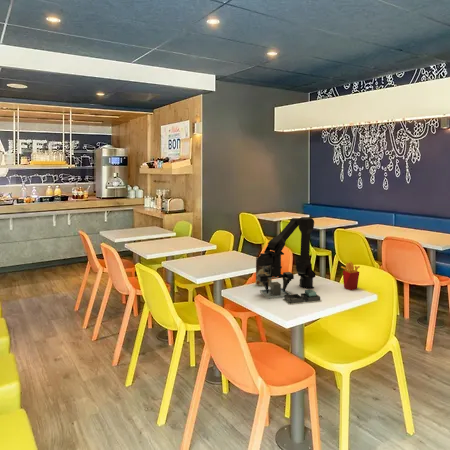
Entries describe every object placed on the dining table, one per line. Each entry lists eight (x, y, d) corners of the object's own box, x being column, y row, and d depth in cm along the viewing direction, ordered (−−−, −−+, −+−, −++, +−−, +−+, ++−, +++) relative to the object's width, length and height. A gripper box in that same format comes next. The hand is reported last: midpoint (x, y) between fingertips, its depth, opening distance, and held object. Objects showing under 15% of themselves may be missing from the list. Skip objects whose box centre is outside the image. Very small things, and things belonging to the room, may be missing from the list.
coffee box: (255, 287, 246) (255, 259, 244) (255, 284, 252) (255, 257, 250) (271, 287, 245) (271, 259, 243) (271, 284, 251) (271, 257, 249)
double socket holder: (314, 297, 225) (315, 288, 224) (322, 302, 217) (322, 292, 216) (282, 300, 221) (282, 291, 220) (288, 305, 213) (288, 295, 212)
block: (277, 292, 233) (277, 281, 232) (280, 295, 228) (280, 284, 227) (270, 293, 232) (270, 282, 231) (273, 295, 227) (273, 284, 226)
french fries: (359, 289, 238) (360, 262, 236) (348, 291, 235) (348, 264, 233) (348, 285, 246) (349, 259, 244) (337, 287, 243) (337, 261, 241)
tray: (282, 290, 238) (282, 287, 238) (291, 297, 225) (291, 294, 225) (259, 292, 235) (259, 290, 235) (268, 300, 222) (268, 297, 222)
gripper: (286, 259, 238) (286, 287, 240) (253, 261, 233) (254, 289, 235) (294, 263, 227) (294, 292, 229) (260, 266, 223) (260, 295, 225)
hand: (275, 292), depth 230 cm, fingers open, 9 cm apart
